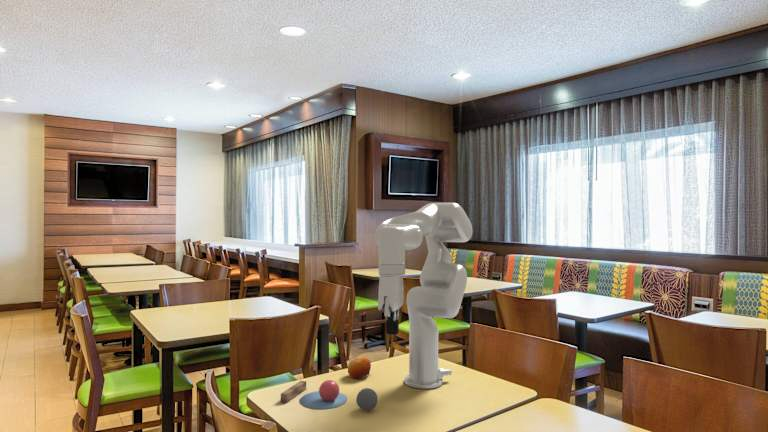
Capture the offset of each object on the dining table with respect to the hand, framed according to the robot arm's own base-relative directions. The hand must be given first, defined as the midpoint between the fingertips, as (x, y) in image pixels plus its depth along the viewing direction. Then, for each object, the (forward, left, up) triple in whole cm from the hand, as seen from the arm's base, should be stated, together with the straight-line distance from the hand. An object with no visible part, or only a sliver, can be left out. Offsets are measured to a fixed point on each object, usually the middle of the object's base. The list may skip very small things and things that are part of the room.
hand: (392, 333), depth 139 cm
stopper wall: (+24, -19, -21) cm, 38 cm away
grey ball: (+7, -1, -18) cm, 20 cm away
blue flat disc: (+17, -13, -21) cm, 30 cm away
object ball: (+15, -12, -18) cm, 27 cm away
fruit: (0, -29, -22) cm, 36 cm away
